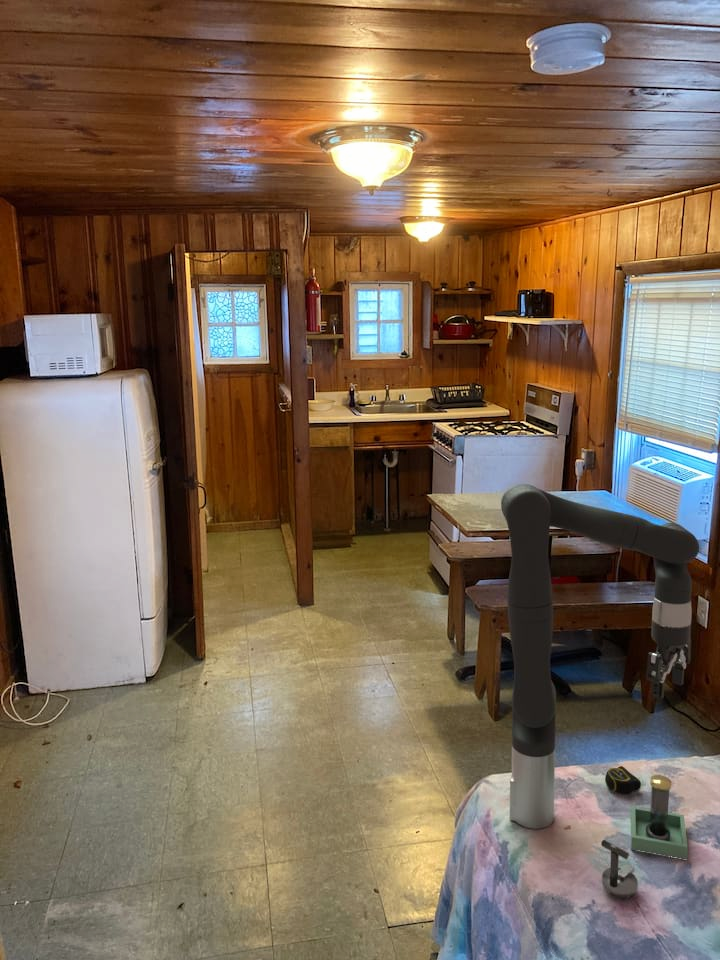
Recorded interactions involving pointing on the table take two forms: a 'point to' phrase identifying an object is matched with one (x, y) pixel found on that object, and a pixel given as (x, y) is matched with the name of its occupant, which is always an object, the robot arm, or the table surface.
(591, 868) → the table surface
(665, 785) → the pin
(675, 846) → the tray
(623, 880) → the t-handle
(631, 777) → the tape measure
